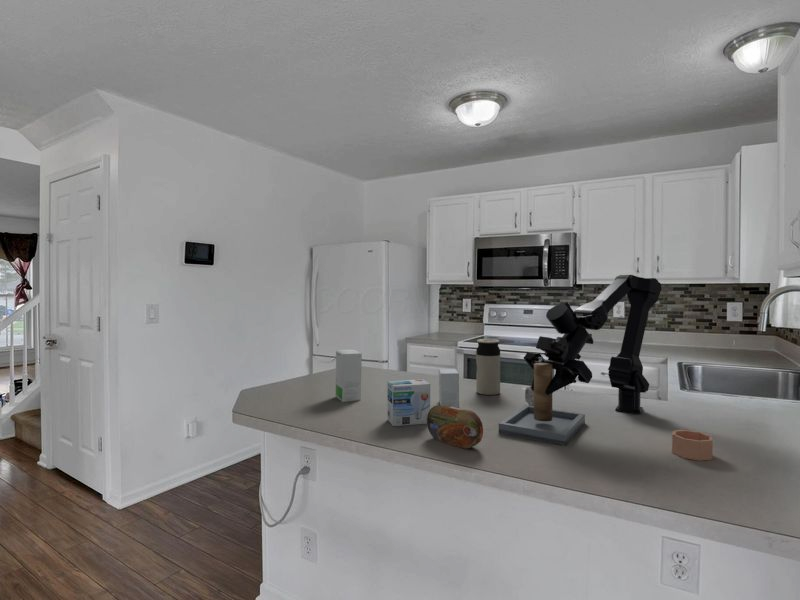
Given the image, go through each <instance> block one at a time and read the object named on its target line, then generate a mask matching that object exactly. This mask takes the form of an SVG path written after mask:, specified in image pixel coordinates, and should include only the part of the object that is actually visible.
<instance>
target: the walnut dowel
mask: <svg viewBox="0 0 800 600" xmlns="http://www.w3.org/2000/svg"><path fill="white" fill-rule="evenodd" d="M533 378H534V419H535V420H538V421H552V409H553V393H551V394H549V395H547V394H546V393H545V391H546V389H547V387H548V385H549V384H550V382H551V380H552V379H553V369H552V364H549V363H535V364H534V370H533Z"/></svg>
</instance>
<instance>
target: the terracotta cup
mask: <svg viewBox="0 0 800 600" xmlns="http://www.w3.org/2000/svg"><path fill="white" fill-rule="evenodd" d="M713 445H714V443H713V436H712V435H710V434H707V433H705V432H701V431H695V430H688V429H676V430H675V429H674V430H672V433H671V452H672V454H674V455H676V456H679V457H681V458H683V459H689V460H695V461H700V462H701V461H711V460H713V448H714V447H713Z"/></svg>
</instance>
